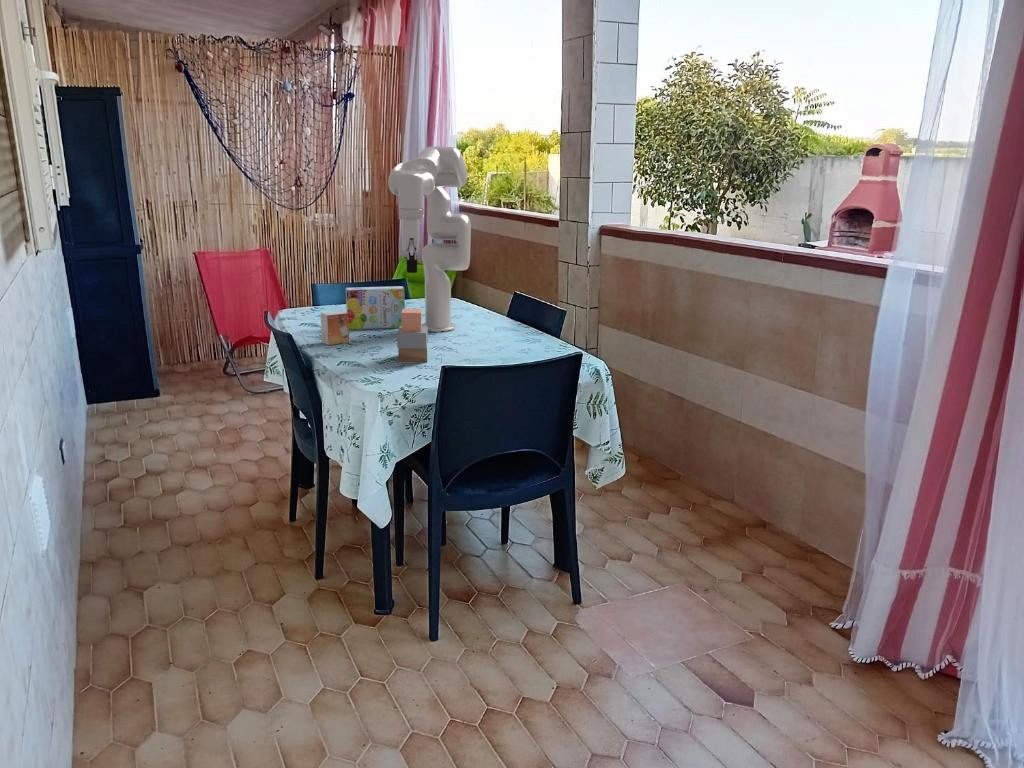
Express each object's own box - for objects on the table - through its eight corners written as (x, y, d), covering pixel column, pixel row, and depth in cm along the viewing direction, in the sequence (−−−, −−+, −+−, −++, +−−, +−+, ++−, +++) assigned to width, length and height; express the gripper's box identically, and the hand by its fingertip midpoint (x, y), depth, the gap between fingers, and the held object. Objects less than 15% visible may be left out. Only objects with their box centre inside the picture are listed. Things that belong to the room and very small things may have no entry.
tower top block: (400, 341, 251) (399, 326, 250) (427, 341, 252) (427, 326, 250) (397, 348, 243) (397, 332, 241) (426, 348, 243) (426, 333, 242)
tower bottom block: (399, 356, 253) (399, 341, 251) (427, 355, 254) (427, 341, 252) (398, 363, 244) (398, 348, 243) (427, 363, 245) (427, 348, 244)
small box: (328, 345, 262) (326, 315, 259) (321, 342, 267) (319, 312, 263) (349, 342, 267) (348, 312, 264) (343, 339, 271) (341, 309, 268)
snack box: (403, 324, 295) (403, 285, 291) (405, 328, 290) (404, 288, 286) (347, 326, 290) (345, 286, 286) (347, 330, 285) (346, 289, 281)
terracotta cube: (402, 327, 249) (402, 308, 247) (421, 327, 249) (421, 309, 247) (401, 331, 243) (401, 312, 241) (421, 331, 243) (420, 312, 242)
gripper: (398, 211, 244) (400, 265, 249) (398, 217, 228) (399, 274, 233) (422, 211, 245) (423, 265, 250) (423, 217, 229) (424, 274, 234)
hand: (412, 270), depth 242 cm, fingers open, 9 cm apart
